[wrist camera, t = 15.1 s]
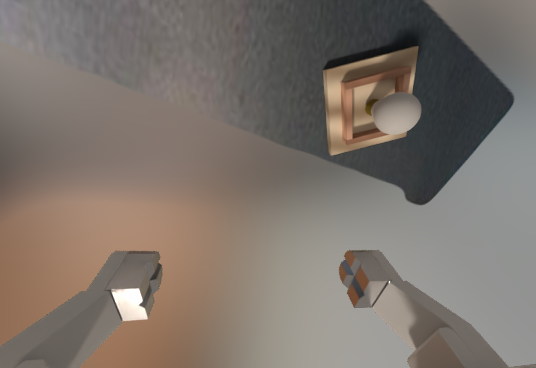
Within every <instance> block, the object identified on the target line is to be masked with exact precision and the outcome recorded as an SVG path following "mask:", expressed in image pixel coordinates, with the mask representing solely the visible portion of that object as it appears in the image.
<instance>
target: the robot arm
mask: <svg viewBox="0 0 536 368" xmlns="http://www.w3.org/2000/svg"><path fill="white" fill-rule="evenodd" d="M344 257H345V260H344V261H343V262H341V264H340V267H339V275H340V279H341V281H342V283H343V284H344V285H345V286H346V287H347V288H348V291H347V294H348V296H349V298H350V300H351V302H352V304H353V306H354V308H365V307H372V309H373V310H374V311H375V312H376V313H377V314H378V315H379V316H380V317H381V318H382V319H383V320H384V321H385V322H386V323H387V324H388V325H389V326H390V327H391V328H392V329H393V330H394V331H395V332H396V333H397V334H398V335H399V336H400V337H401V338H402V339H403V340H404V341H405V342H406V343H407V344H408V345H409V346H410V347H411V348H412V349H413V350H414V351H415V352H414V353H413V354H412V355H410V357H409V358H408V361H407V362H408V364H409V366H410V367H411V368H536V364H531V365H524V366H515V367H508V366H507V364H506V363H505V362H504V361H503V360H502V359H501V358H500V357H499V355H498V354H497V353H496V352H495V351H494V350H493V349H492V348H491V347H490V345H489V344H488V343H487V342H486V341H485V340H484V339H483V337H482V336H481V335H480V334H479V333H478V332H477V331H476V330H475V328H474V327H473V326H472V325H471V324H469V323H468V322H466V321H465V320H463V319H462V318H461V317H459V316H458V315H456V314H455V313H453V312H452V311H450V310H449V309H447V308H446V307H444V306H443V305H441V304H440V303H438V302H437V301H435V300H434V299H432V298H430V297H429V296H428V295H426V294H425V293H423V292H422V291H420V290H419V289H417V288H416V287H414V286H413V285H412V284H410V283H409V282H407V281H403V280H402V279H401V277H400V276H399V275H398V273H397V272H396V271H395V269H394V268H393V267H392V265H391V264H390V263H389V261H388V260H387V259H386V258H385V256H384V255H383V254H382V252H380V251H379V250H368V251H367V250H352V251H351V250H349V251H347V252H346V253H345V255H344ZM159 260H160V254H159V252H157V251H156V252H155V251H115V252H114V253H112V254H111V255H110V257H109V258H108V260H107V261H106V263H105V264H104V266H103V267H102V268H101V270H100V271H99V273H98V274H97V276H96V277H95V279H94V280H93V282H92V283H91V285H90V286H89V288H88V289H87V291H81V292H80V293H78V294H77V295H75V296H74V297H72V298H71V299H69V300H68V301H66V302H65V303H64V304H62V305H60V306H59V307H58V308H56V309H55V310H53V311H52V312H50V313H49V314H47V315H46V316H44V317H43V318H42V319H40V320H39V321H37V322H35V323H34V324H33V325H31V326H30V327H28V328H27V329H26V330H24V331H22V332H21V333H19V334H18V335H16V336H15V337H13V338H12V339H10V340H9V341H8V342H6V343H5V344H3V345H2V346H0V368H79V367H80V366H81V365H82V364H83V363H84V362H85V361H86V360H87V359H88V358H89V357H90V355H92V353H93V352H94V351H95V350H96V349H97V348H98V347H99V346H100V345H101V344H102V343H103V342H104V341H105V340H106V339H107V338H108V337H109V336H110V335H111V334H112V333H113V332H114V331H115V330H116V328H117V327H118V326H119V325H120V324H121V323H122V321H129V320H141V319H148V317H149V314H150V311H151V309H152V306H153V303H154V297H153V294H154V293H155V292H156V291H157V290H158V289H159V287H160V284H161V279H162V265H161V264H159V263H158V262H159Z"/></svg>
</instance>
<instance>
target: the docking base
mask: <svg viewBox="0 0 536 368" xmlns="http://www.w3.org/2000/svg"><path fill="white" fill-rule="evenodd" d="M418 47H419V46H416V47H409V48H406V49H402V50H398V51H394V52H390V53H386V54H382V55H379V56H375V57H371V58H367V59H363V60H359V61H356V62H352V63H348V64H344V65H340V66H336V67H333V68H329V69H325V70H323V77H324V91H325V106H326V120H327V134H328V149H329V153H330V154H331V155H335V154H339V153H343V152H347V151H351V150H355V149H359V148H362V147H366V146H370V145H374V144H378V143H382V142H386V141H390V140H394V139H397V138H401V137H405V136H406V133H407V131H406V132H404V133H401V134H396V135H391V134H386V133H383V132H382V131H380V130H379V129H378V128H377V127H376V125H375V123H374V118H373V117H372V116H370V115H368V114H367V113H366V111H365V107H366V105H367V103H368V102H369V101H370V100H372V99H378V100H381V99H384V98H385V97H386V96H388V95H390V94H393V93H397V92H405V93H409V94H412V90H413V83H414V75H415V68H416V61H417V54H418Z"/></svg>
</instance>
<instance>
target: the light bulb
mask: <svg viewBox="0 0 536 368" xmlns="http://www.w3.org/2000/svg"><path fill="white" fill-rule="evenodd" d="M365 111H366V113H367V114H368V115H370V116H372V117H373V118H374V123H375V125H376V127H377V128H378V129H379V130H380V131H382V132H383V133H386V134H391V135H396V134H401V133H404V132H406V131H408V130H410V129H411V128H412V127H413V126H414V125H415V124H416V123H417V122H418V120H419V118H420V115H421V105H420V102H419V100H418V99H417V98H416V97H415V96H413V95H412V94H409V93H405V92H397V93H393V94H390V95H388V96H386V97H385V98H384V99H381V100H378V99H372V100H370V101H369V102H368V103H367V105H366V107H365Z"/></svg>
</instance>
